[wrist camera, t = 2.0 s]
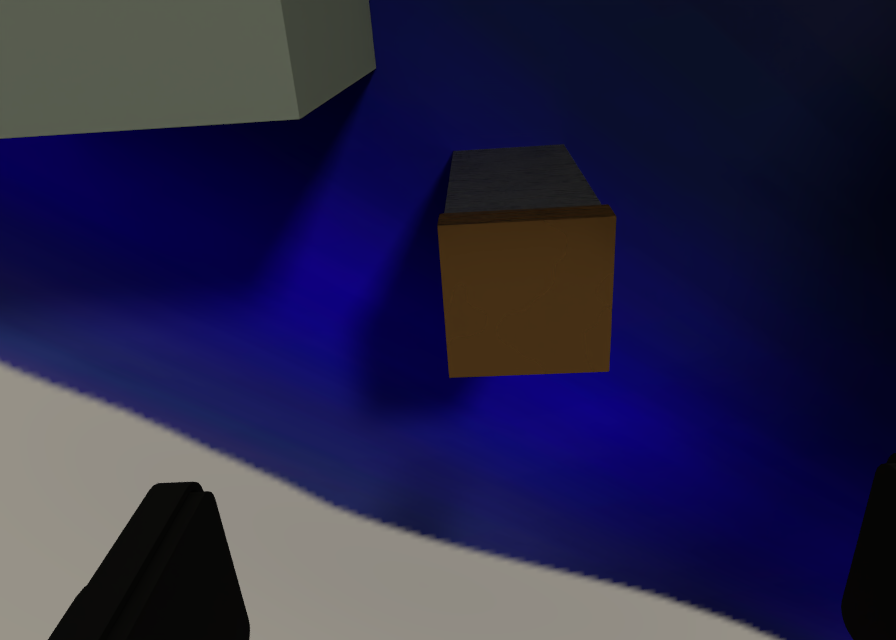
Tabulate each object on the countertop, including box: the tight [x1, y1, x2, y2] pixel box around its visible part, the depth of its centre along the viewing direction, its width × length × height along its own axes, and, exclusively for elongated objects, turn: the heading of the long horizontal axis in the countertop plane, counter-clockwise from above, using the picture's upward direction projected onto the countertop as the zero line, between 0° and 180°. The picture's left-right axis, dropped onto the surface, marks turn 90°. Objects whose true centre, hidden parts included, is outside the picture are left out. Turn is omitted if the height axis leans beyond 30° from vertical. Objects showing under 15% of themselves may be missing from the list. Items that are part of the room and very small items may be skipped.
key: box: [438, 144, 616, 378], centre depth 20 cm, size 4×4×9 cm
